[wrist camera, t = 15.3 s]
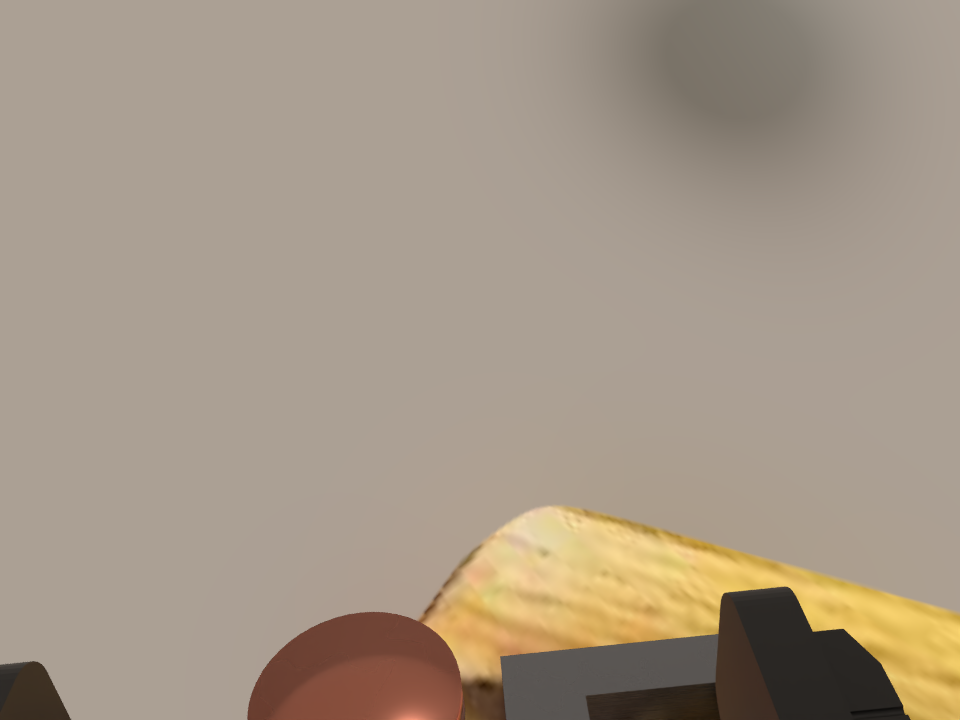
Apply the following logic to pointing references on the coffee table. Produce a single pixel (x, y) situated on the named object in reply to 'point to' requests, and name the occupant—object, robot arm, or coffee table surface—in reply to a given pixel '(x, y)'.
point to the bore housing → (615, 682)
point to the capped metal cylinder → (361, 673)
